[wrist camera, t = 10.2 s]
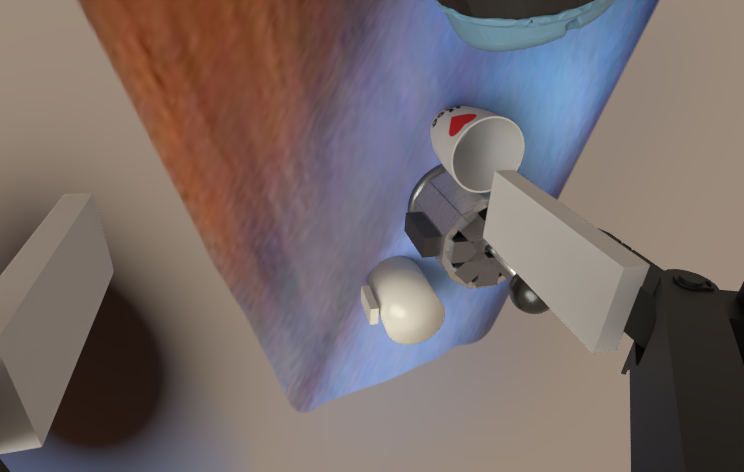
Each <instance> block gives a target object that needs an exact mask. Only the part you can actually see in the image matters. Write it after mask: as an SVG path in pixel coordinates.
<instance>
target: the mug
mask: <svg viewBox="0 0 744 472" xmlns="http://www.w3.org/2000/svg"><path fill="white" fill-rule="evenodd" d="M361 302H362V305H363V308H364V310H365V313H366V316H367V318H368V321H369V323H370V325H373V324H378V312H379V314H380V317H381V319H382V321H383V324H384V326H385V328H386V331H387V333H388V335H389V336H390V338H391V339H393V340H394V341H396V342H398V343H401V344H416V343H420V342H423V341H425V340H427V339H429V338H430V337H432V336H433V335H434V334H435V333H436V332H437V331H438V330H439V329H440V327H441V326H442V324H443V321H444V318H445V310H444V306H443V304H442V303H441V301H440V300H439V298H438V296H437V295H436V293H435V292H434V290H433V288H432V287H431V285H430V284H429V282H428V280H427V279H426V277H425V276H424V274H423V272H422V271H421V269H420V268H419V266H418V265H417V263H416V262H415V261H414V260H412V259H410V258H408V257H404V256H395V257H390V258H387V259H385V260H383V261H382V262H380V263H379V264H378V265H377V266H376V267H375V268H374V269H373V270H372V272H371V274H370V276H369V279H368V285H367V286H361Z"/></svg>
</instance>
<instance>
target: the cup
mask: <svg viewBox="0 0 744 472" xmlns="http://www.w3.org/2000/svg"><path fill="white" fill-rule="evenodd" d="M430 135H431V140H432V145H433V148H434V150H435V152H436V154H437V156H438V158H439V159H440V161H441V163H442V165H443V166H444V168H445V169H446V170H447V171H448V172H449V173H450V175H451V176H452V177H453V178H454V179H455V180H456V182H457V183H458V184H459V185H460V186H461V187H463V188H464V189H466V190H468V191H471V192H475V193H484V192H489V191H491V188H492V183H493V177H494V172H495V171H499V170H515V171H517V170H518V168H519V166H520V164H521V162H522V159H523V155H524V149H525V143H524V137H523V134H522V132H521V130H520V128H519V127H518V126H517V124H515V123H514V122H513V121H512V120H510V119H508V118H505V117H503V116H500V115H498V114H495V113H493V112H490V111H488V110H485V109H480V108H475V107H469V106H456V107H449V108H446V109H444V110H442V111H440V112H439V113H438V114H437V115H436V116H435V118H434V119H433V121H432V123H431V127H430Z"/></svg>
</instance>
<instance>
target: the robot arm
mask: <svg viewBox="0 0 744 472" xmlns="http://www.w3.org/2000/svg"><path fill="white" fill-rule="evenodd" d="M435 1H436V3H437V4H438V5H439V6H440V8H441V9H442V10H443V11H444V12H445V14H446V16H447V18H448V19H449V21H450V23H451V25H452V27H453V29H454V31H455V32H456V34H457V35H458V36H459V37H460V38H461V39H462V40H463V41H464V42H465V43H467V44H469V45H470V46H472V47H474V48H477V49H480V50H485V51H494V52H504V51H514V50H521V49H526V48H530V47H535V46H538V45H542V44H545V43H548V42H551V41H553V40H556V39H558V38H561V37H563V36H564V35H565V33H566V31H567V30H569V29H574V28H582V27H583V26H585V25H587V24H588V23H590V22H592V21H593V20H595V19H596V18H597V17H599V16H600V15H601V14H602V13H603V12H604V11H606V10H607V9H608V8H609V7H610V6H611V5H612V3H613V2H614V0H435ZM483 238H484V239H485V240H486V241H487V242H488V243H489V244H490V245H491V246H492V248H493V249H494V250H495V251H496V252H497V253H498V254H499V255H500V256H501V257H502V258H503V259H504V260H505V261H506V262H507V263H508V264H509V265H510V267H511V268H512V269H513V270H514V271H515V272H516V273H517V274H518V275H519V276H520V277H521V278H522V279H523V280H524V281H525V282H526V283H527V284H528V286H529V287H530V288H531V289H532V290H533V291H534V292H535V293H536V294H537V295H538V296H539V297H540V298H541V299H542V300H543V301H544V302H545V303H546V305H547V306H548V307H549V308H550V309H551V310H552V311H553V312H554V313H555V314H556V315H557V316H558V317H559V318H560V319H561V320H562V321H563V322H564V323H565V324H566V326H567V327H568V328H569V329H570V330H571V331H572V332H573V333H574V334H575V335H576V336H577V337H578V338H579V339H580V340H581V341H582V343H583V344H584V345H585V346H586V347H587V348H588V349H589V350H590V351H591V352H592V353H593V354H596V353H602V352H607V351H613V350H617V349H618V346H619V344H620V341H621V338H622V336H623V333H624V332H625V333H626V334H628V336H630V337H631V338H632V339H633V340H634V342H633V345H632V347H631V350H630V352H629V355H628V357H627V360H626V362H625V365H624V367H623V369H622V372H621V373H622V374H626V372H627V370H629V369H630V423H631V472H744V282H743V284H742V286H741V289H740V290H739V292H738V291H727V290H726V291H725V290H719V289H718V287H717V286H716V285H715V284H714V283H713V282H711V281H710V280H708V279H707V278H705V277H703V276H701V275H699V274H696V273H692V272H689V271H685V270H678V269H671V270H670V269H668V270H666V271H664V270H662V269H660V268H659V267H658V266H656V265H655V264H653V263H652V262H651V261H649V260H648V259H646V258H645V257H643V256H642V255H640V254H639V253H638V252H636V251H635V250H631V248H630V247H629V246H627V245H626V244H624V243H621V241H620V240H619V239H617V238H616V237H614V236H613V235H611V234H610V233H608V232H606V231H603V230H601V229H599V228H597V227H595V226H594V225H592V224H591V223H589V222H587V221H586V220H585V219H583V218H582V217H581V216H579V215H578V214H576V213H575V212H574V211H572V210H571V209H569V208H567V207H566V206H565V205H563V204H562V203H561V202H559V201H558V200H556V199H555V198H553V197H552V196H551V195H549V194H548V193H546V192H545V191H543V190H542V189H541V188H539V187H538V186H536V185H535V184H533V183H532V182H530V181H529V180H528V179H526V178H525V177H523V176H522V175H520V174H519V173H518V172H516V171H515V170H499V171H495V172H494V177H493V183H492V188H491V194H490V200H489V205H488V211H487V216H486V222H485V227H484V233H483ZM113 272H114V270H113V266H112V262H111V259H110V255H109V251H108V248H107V244H106V240H105V236H104V232H103V229H102V225H101V221H100V217H99V214H98V210H97V206H96V202H95V199H94V195H93V193H83V194H82V193H81V194H64V195H63V196H62V197H61V199H60V200H59V201H58V203H57V204H56V205H55V206H54V208H53V209H52V210H51V212H50V213H49V214H48V215H47V217H46V218H45V219H44V221H43V222H42V223H41V224H40V226H39V227H38V228H37V229H36V231H35V232H34V233H33V235H32V236H31V237H30V238H29V240H28V241H27V242H26V244H25V245H24V246H23V247H22V249H21V250H20V251H19V253H18V254H17V255H16V256H15V258H14V259H13V260H12V261H11V263H10V264H9V265H8V267H7V268H6V269H5V270H4V272H3V273H2V274H1V276H0V454H3V453H9V452H14V451H21V450H26V449H32V448H39V447H42V446H43V443H44V441H45V438H46V436H47V433H48V431H49V429H50V426H51V424H52V421H53V419H54V416H55V414H56V411H57V409H58V406H59V404H60V401H61V399H62V397H63V394H64V392H65V389H66V387H67V385H68V382H69V380H70V377H71V375H72V372H73V370H74V367H75V365H76V363H77V360H78V358H79V355H80V353H81V350H82V348H83V345H84V343H85V341H86V338H87V336H88V333H89V331H90V328H91V326H92V323H93V321H94V319H95V316H96V314H97V311H98V309H99V306H100V304H101V301H102V299H103V297H104V294H105V292H106V289H107V287H108V284H109V282H110V279H111V277H112V274H113ZM0 472H10V471H9V470H8V468H7V467H6V466H5V465H4V463H3V462H2V461H1V459H0Z"/></svg>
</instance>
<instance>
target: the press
mask: <svg viewBox="0 0 744 472" xmlns="http://www.w3.org/2000/svg"><path fill="white" fill-rule="evenodd" d="M490 194H491V191H489V192H484V193H475V192H471V191H468V190H466V189H464V188H463V187H461V186H460V185H459V184H458V183H457V182H456V180H455V179H454V178H453V177H452V176H451V175H450V173H449V172H448V171H447V170H446V169H445V168H444V166H443V165H442V164H441V165H439V166H437V167H435V168H433V169H432V170H430V171H429V172H428V173H426V174H425V175H424V176H423V177H422V178H421V179H420V180H419V182H418V183H417V185H416V186H415V188H414V190H413V191H412V194H411V196H410V199H409V204H408V213H406V219H405V230H404V231H405V232H406V234H407V235H408V237H409V238H410V240H411V241H412V243H413V244H414V246H415V247H416V249H417V250H418V252H419V253H420V255H421V256H422V258H423V257H433V256H435V257H436V259H437V260H438V262H439V263H440V264H441V266H442V267H443V269H444V270H445V272H446V273H447V274H448V276H449V277H450V279H451V280H452V281H455V282H457V283H459V284H461V285H464V286H466V287H468V288H471V289H472V288H480V287H488V286H494V285H497V284H498V283H500V282H502V281H503V280H505V279H507V280H508V279H509V278H510V277H512V275H511V274H510V273H509V272H508V271H507V270H506V269H505V267H504V266H503V265H502V264H501V263H500V262H499V261H498V260H497V259H496V258H495V257H494V256H493V254H492V253H491V252H490V251H489V250H488V249H487V248H486V247H485V246H487V245H488V244H489V243H488V242H487V241H486V240H485V239H484V238H483V233H484V227H485V222H486V216H487V211H488V205H489V200H490ZM486 207H487V209H486V215H485V220H483V219H482V218H481V217H480V216H479V215H478V214H477V213H478V212H480V211H481V210H483V209H485V208H486ZM466 219H467V220H466ZM465 220H466V221H465ZM464 221H465V222H464ZM458 230H459V231H460V232H461V233H462V234H463V235H464V236H465V237H466V238H457V239H452V238H453V237H454V235H455V234H456V233H457V231H458Z"/></svg>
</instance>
